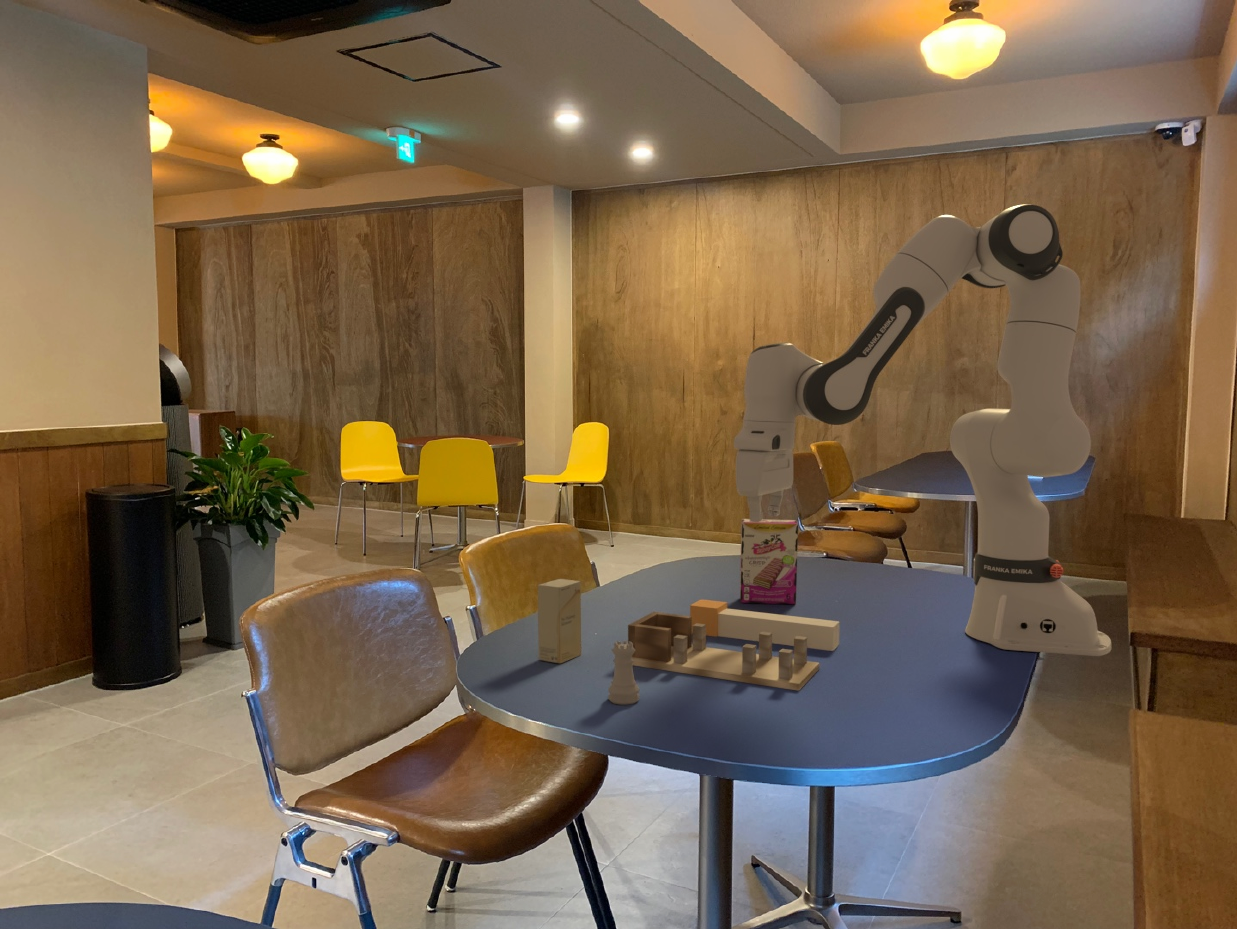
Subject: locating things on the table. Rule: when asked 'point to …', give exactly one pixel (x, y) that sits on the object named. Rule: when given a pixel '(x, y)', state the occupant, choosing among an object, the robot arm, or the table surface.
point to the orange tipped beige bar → (763, 625)
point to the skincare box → (559, 620)
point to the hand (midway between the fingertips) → (764, 518)
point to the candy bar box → (768, 561)
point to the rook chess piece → (623, 676)
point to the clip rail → (716, 654)
